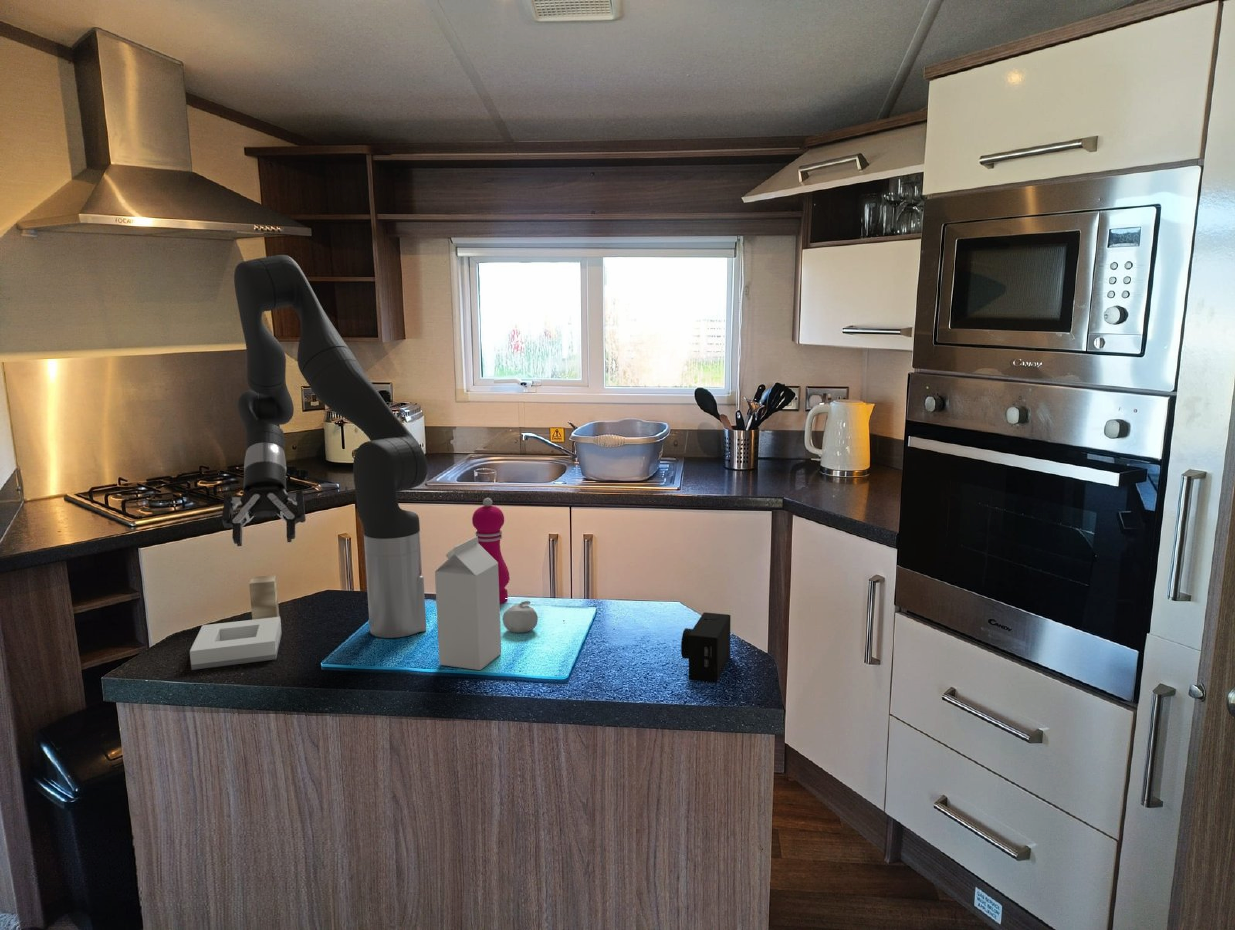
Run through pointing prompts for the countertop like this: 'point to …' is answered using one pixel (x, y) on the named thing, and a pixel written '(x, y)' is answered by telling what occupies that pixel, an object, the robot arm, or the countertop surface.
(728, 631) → the digital camera
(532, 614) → the garlic
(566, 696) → the countertop surface
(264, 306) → the robot arm
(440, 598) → the milk carton
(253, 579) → the block
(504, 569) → the pepper mill
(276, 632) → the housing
